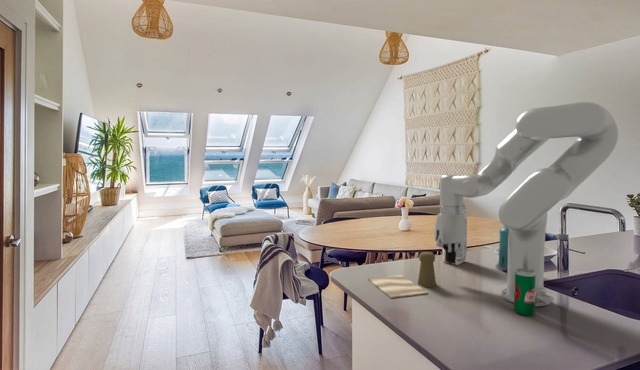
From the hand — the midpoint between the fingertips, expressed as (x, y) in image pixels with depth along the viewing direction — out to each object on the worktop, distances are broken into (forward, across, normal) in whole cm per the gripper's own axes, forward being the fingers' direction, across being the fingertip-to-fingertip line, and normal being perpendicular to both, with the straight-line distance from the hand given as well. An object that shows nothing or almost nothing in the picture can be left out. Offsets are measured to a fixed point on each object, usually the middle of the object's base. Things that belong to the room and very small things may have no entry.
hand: (450, 262), depth 123 cm
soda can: (+7, -4, +28) cm, 29 cm away
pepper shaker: (+7, +9, 0) cm, 12 cm away
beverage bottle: (+7, -28, -4) cm, 29 cm away
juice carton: (+7, -16, -20) cm, 26 cm away
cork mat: (+7, +20, -1) cm, 21 cm away
